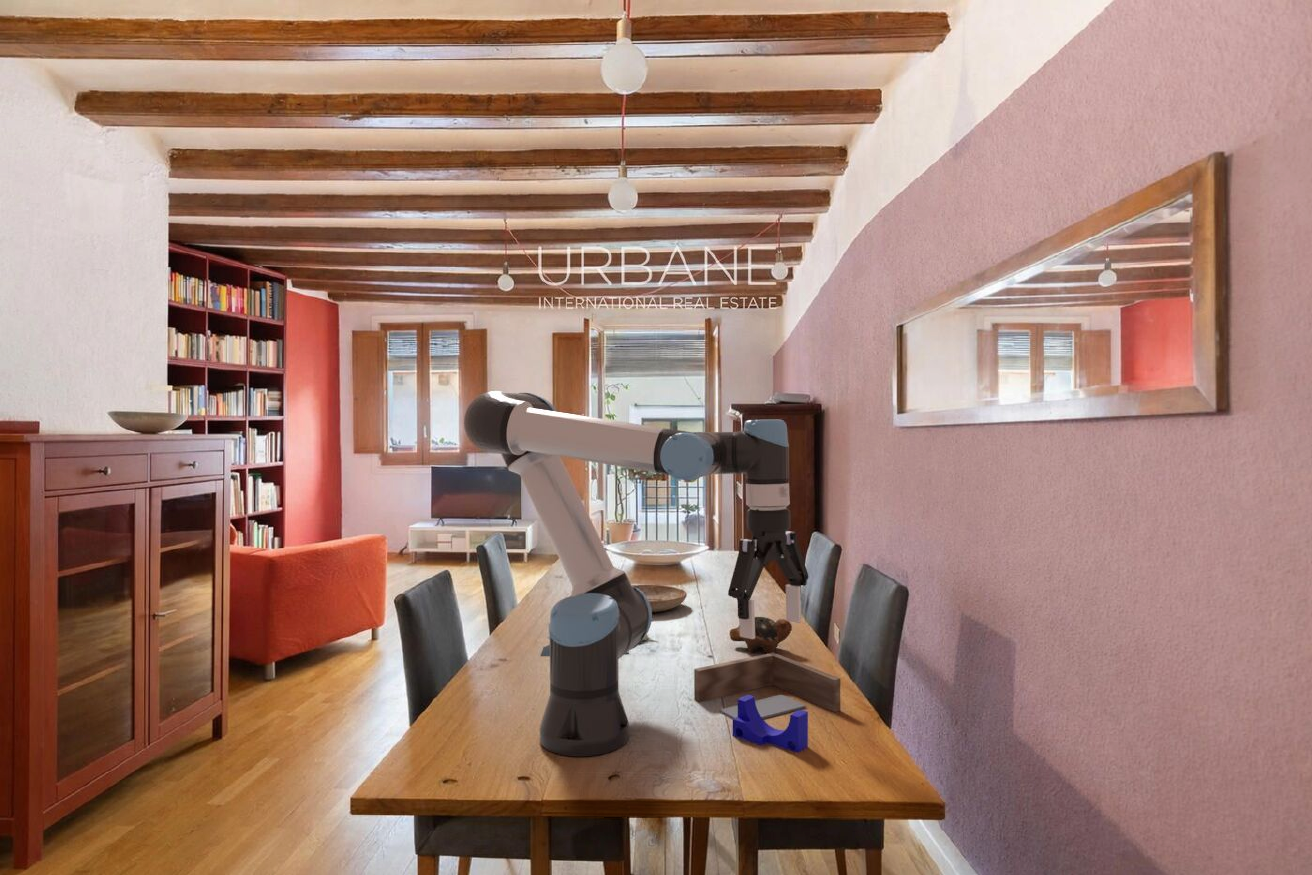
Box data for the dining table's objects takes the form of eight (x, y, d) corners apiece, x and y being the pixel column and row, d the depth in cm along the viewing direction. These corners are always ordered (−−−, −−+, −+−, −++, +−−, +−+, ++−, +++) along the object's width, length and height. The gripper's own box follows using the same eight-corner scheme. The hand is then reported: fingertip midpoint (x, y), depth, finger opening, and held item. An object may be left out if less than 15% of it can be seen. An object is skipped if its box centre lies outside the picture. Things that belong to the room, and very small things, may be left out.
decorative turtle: (791, 658, 170) (788, 623, 169) (726, 656, 174) (724, 623, 174) (796, 644, 179) (793, 611, 179) (734, 643, 183) (732, 611, 183)
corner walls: (756, 733, 127) (756, 699, 127) (694, 699, 144) (694, 668, 144) (840, 710, 138) (840, 678, 138) (773, 681, 154) (773, 652, 154)
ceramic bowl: (687, 618, 206) (687, 600, 206) (603, 618, 207) (603, 600, 207) (685, 599, 230) (685, 583, 230) (610, 599, 230) (610, 583, 230)
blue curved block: (732, 736, 127) (732, 701, 127) (747, 728, 130) (747, 694, 130) (793, 756, 119) (793, 719, 119) (807, 747, 122) (807, 711, 122)
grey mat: (742, 724, 131) (742, 722, 131) (719, 711, 137) (719, 709, 137) (805, 707, 139) (805, 705, 139) (781, 696, 145) (781, 694, 145)
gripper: (740, 515, 117) (744, 649, 117) (825, 502, 135) (828, 618, 135) (704, 513, 123) (708, 640, 123) (791, 500, 140) (794, 612, 140)
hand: (771, 629), depth 129 cm, fingers open, 13 cm apart
